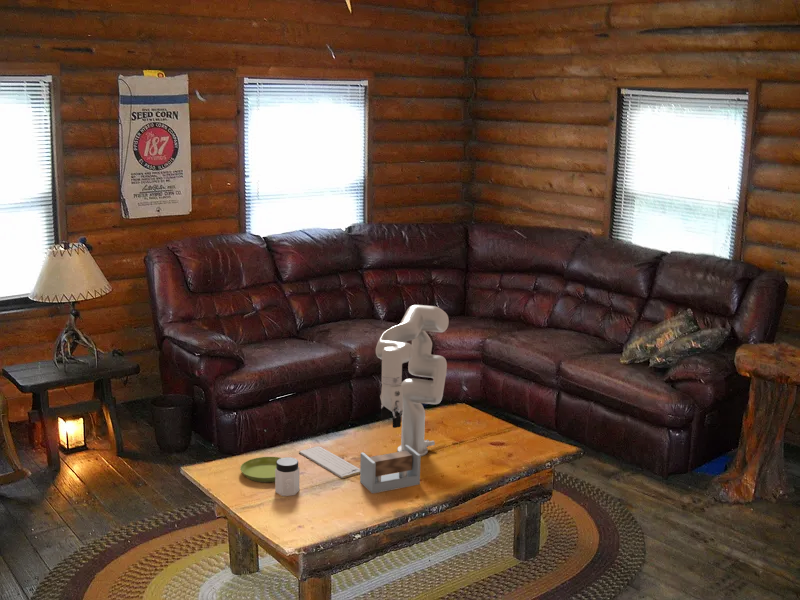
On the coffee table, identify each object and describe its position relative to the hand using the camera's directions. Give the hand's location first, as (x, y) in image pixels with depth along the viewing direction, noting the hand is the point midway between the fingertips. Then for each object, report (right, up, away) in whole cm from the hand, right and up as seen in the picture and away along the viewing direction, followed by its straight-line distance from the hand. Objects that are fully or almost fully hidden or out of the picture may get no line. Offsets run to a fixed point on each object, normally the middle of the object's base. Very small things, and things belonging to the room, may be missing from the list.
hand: (390, 422), depth 346 cm
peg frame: (0, -24, +5) cm, 24 cm away
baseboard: (-24, -20, +23) cm, 39 cm away
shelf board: (0, -19, +4) cm, 19 cm away
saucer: (-48, -22, +11) cm, 54 cm away
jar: (-39, -25, -4) cm, 46 cm away
